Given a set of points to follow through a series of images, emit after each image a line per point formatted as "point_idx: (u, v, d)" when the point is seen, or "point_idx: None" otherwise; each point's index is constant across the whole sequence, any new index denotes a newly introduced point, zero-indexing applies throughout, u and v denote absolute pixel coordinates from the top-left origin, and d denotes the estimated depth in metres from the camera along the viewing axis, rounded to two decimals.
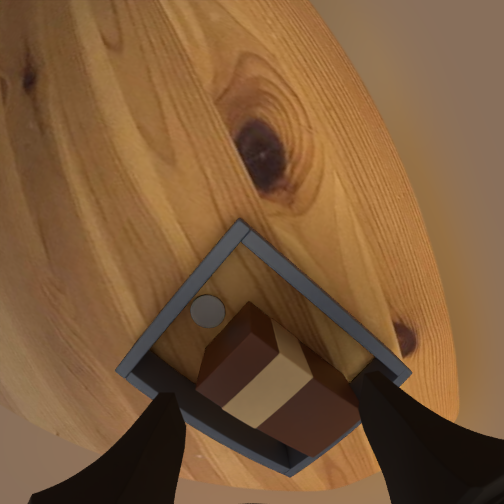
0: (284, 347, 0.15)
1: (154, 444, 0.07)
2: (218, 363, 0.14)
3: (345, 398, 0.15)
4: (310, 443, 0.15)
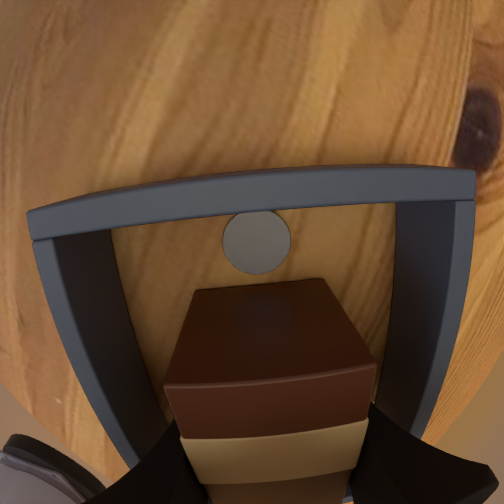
0: None
1: None
2: (258, 373, 0.06)
3: None
4: None
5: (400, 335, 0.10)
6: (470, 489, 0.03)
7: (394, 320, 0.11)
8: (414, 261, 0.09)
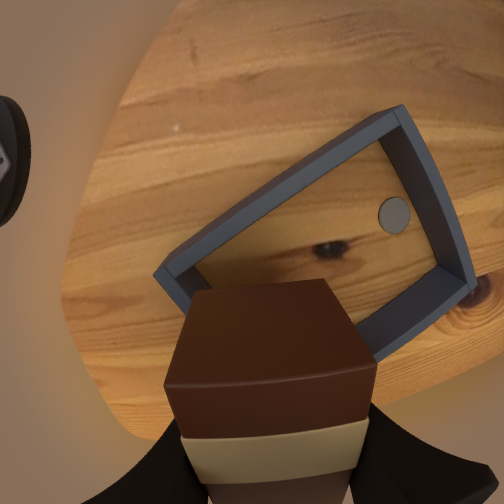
0: None
1: None
2: (258, 373, 0.06)
3: None
4: None
5: (385, 317, 0.18)
6: (470, 489, 0.03)
7: (385, 309, 0.18)
8: (424, 292, 0.17)
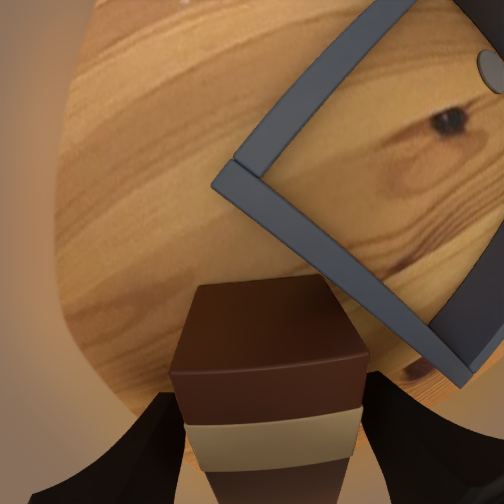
0: None
1: (154, 444, 0.07)
2: (258, 360, 0.06)
3: None
4: None
5: None
6: None
7: None
8: None
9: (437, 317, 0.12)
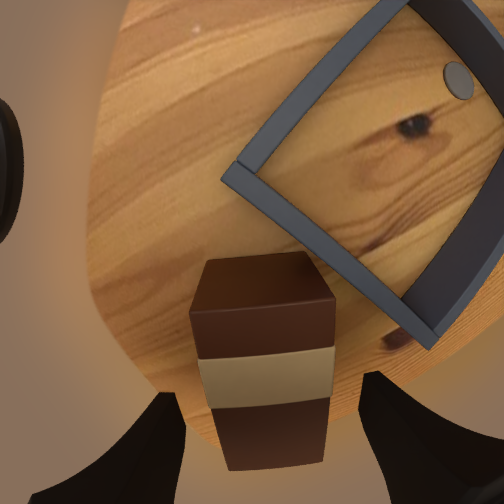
0: None
1: (154, 444, 0.07)
2: (254, 302, 0.09)
3: None
4: (245, 457, 0.11)
5: (492, 194, 0.12)
6: None
7: (486, 188, 0.13)
8: None
9: (408, 291, 0.14)
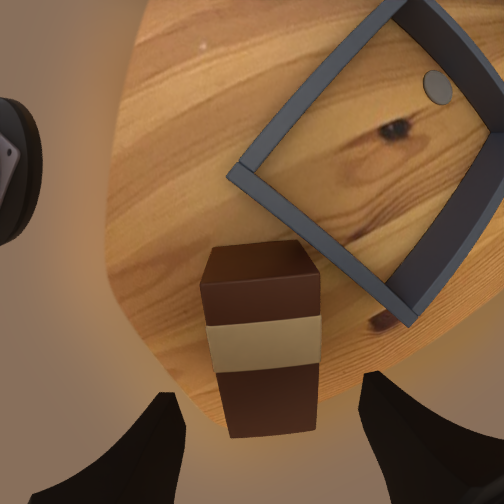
0: None
1: (154, 444, 0.07)
2: (253, 276, 0.11)
3: (316, 402, 0.13)
4: (245, 423, 0.13)
5: (468, 189, 0.14)
6: None
7: (463, 184, 0.15)
8: (492, 155, 0.13)
9: (391, 277, 0.17)
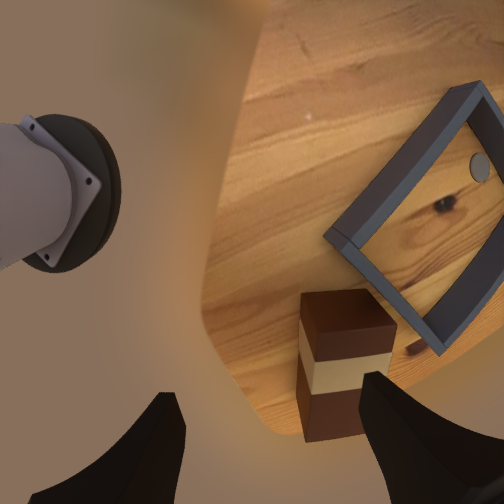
0: None
1: (154, 444, 0.07)
2: (354, 327, 0.15)
3: None
4: (321, 430, 0.17)
5: (490, 251, 0.18)
6: None
7: (487, 246, 0.18)
8: None
9: (426, 316, 0.20)
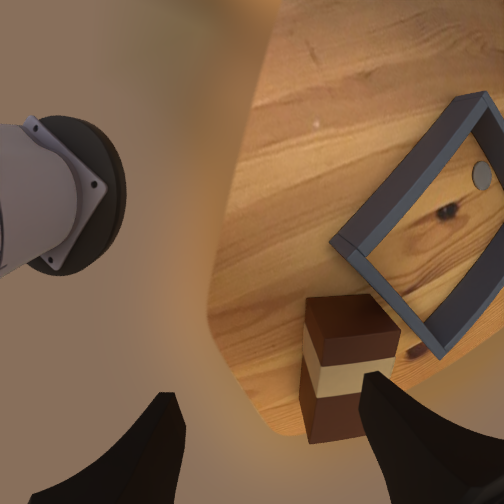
0: None
1: (154, 444, 0.07)
2: (359, 332, 0.15)
3: None
4: (324, 432, 0.17)
5: (490, 258, 0.18)
6: None
7: (487, 252, 0.19)
8: None
9: (427, 320, 0.20)
